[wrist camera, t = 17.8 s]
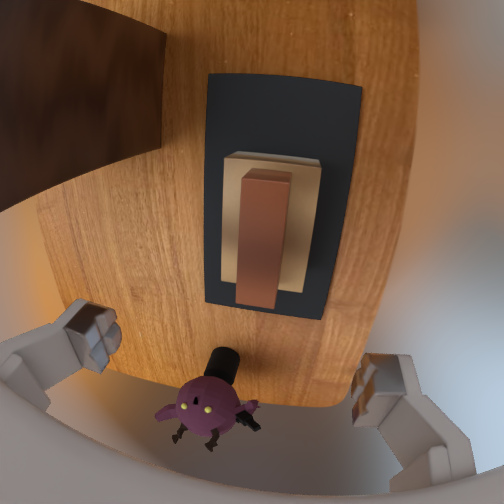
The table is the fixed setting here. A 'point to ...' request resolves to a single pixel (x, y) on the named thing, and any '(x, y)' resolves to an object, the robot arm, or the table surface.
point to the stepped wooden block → (267, 223)
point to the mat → (289, 144)
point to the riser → (73, 92)
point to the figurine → (211, 401)
